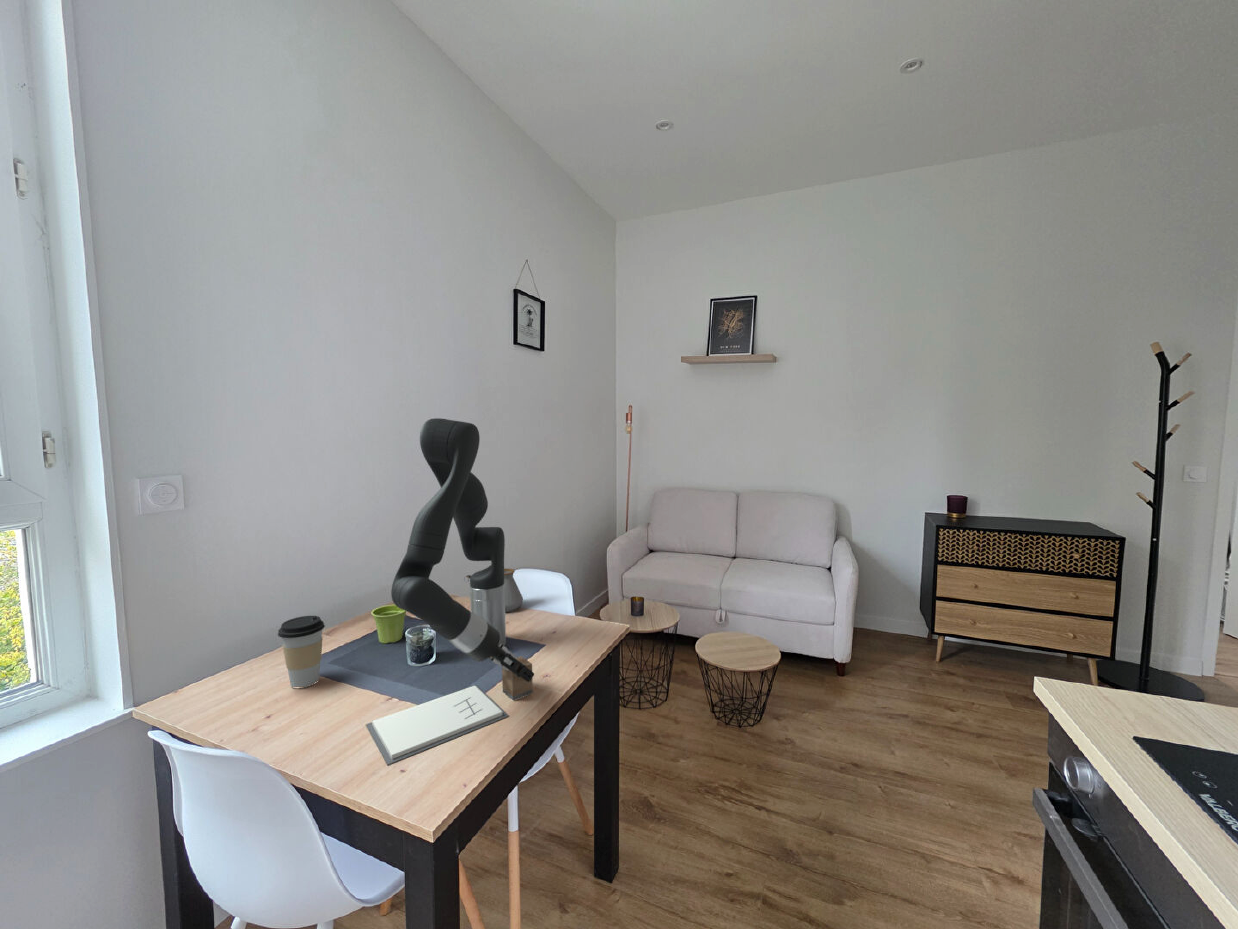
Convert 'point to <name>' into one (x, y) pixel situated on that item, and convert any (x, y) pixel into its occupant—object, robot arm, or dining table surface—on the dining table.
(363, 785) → the dining table surface
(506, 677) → the block
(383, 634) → the plant pot
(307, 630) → the coffee cup
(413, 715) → the board
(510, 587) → the coffee pot
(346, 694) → the dining table surface
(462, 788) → the dining table surface
